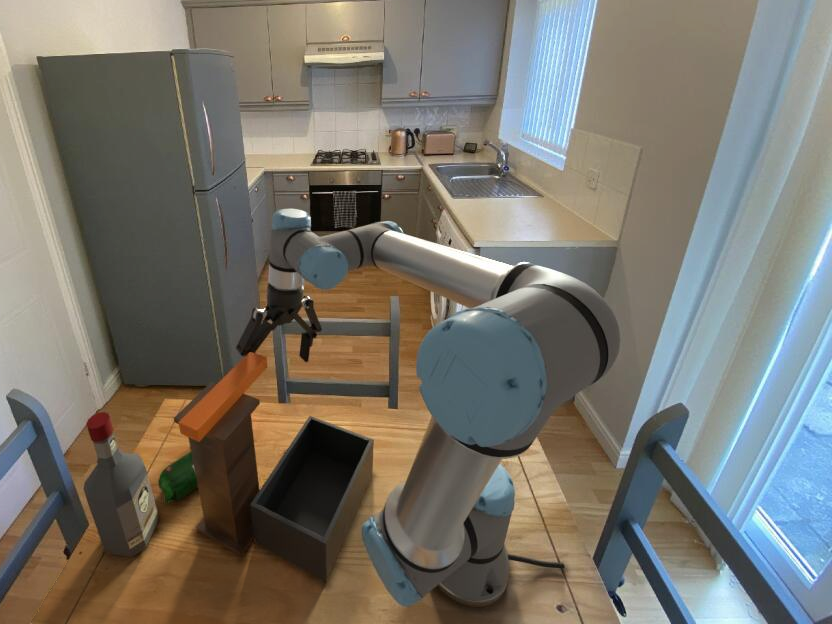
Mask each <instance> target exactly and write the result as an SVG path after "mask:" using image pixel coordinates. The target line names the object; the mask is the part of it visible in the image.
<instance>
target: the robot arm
mask: <svg viewBox="0 0 832 624" xmlns="http://www.w3.org/2000/svg"><path fill="white" fill-rule="evenodd" d="M311 218H312V217H311V215H310V214H309V213H308V212H307V211H305V210H302V209H298V208H281V209H278V210H276V211H274V213H273V214H272V222H271V228H270V243H269V259H268V260H269V261H268V274H267V275H268V278H267V281H268V282H267V286H266V306H265V308H258V307H253V308H252V310H251V314H250V319H249V320H248V323H247V325H246V326H245V328H244V330H243V333H242V335H241V336H240V338H239V340H238V343H237V344H236V346H235V349H236V351H237V352H238V354H239V355H240V356H241V357H243V358H244V357H245V356H246V355H247V354H248V353H249V352H252V353H255V354H257V353H256V352H257V351H258V349H259V348H260V346H261V345H262V344H263V343H264V341H265V340H266V339H267V337H268V336H269V335H270V334H271V332H272V331H275V330H276V329H277V327H281V326H283V325H285V324H290V323H292V322H293V321H295V322H296V323H297V324H298V325H299V326H300V327H301V328H302V329H303V330H304V331H302V332H301V337H300V346H299V355H298V356H299V358H300V359H302V361H303V362H305V363H309V360H310V353H311V352H310V350H311V348H312V347H313V344H314V339H316V338H317V337H318V334H317V333H321V332H322V330H323V328H322V325H321V323H320V320H319V318H318V315H317V313H316V310H315V308H314V303H315V301H314V300H313V298H311V297H310V296H308V294H305V295H304V289H305V286H304V285H305V283H306V282H308V283H310V284H311V285H312V286H314V287H315V288H316V289H319V290H323V291H327V290H332V289H334V288H336V287H338V286H337V285H339V284H340V283H342V282H343V281H344V280H345V279H346V278H347V277H346V276H347V274H348V273H349V272H352V271H355V270H358V269H361V268H365V267H370V266H372V267H374V268H377V269H379V270H382V271H384V272H386V273H387V274H391V275H392V276H396V277H397V278H400V279H402V280H405V281H407V282H409V283H411V284H414V285H416V286H418V287H421V288H423V289H424V290H426V291H430V292H431V293H434V294H436V295H438V296H441V297H442V298H444V299H447V300H448V301H452V302H453V303H454V302H455V303H456V304H458V305H460V306H462V307H465V308H464V309H461V310H459V311H456V312H455V313H453V314H452V315H449V316H448V317H446V318H445V319H444V320H442V321H440V322H439V323H437V324H436V325H435V326H433V327H432V328H430V330H429V331H428V332H427V333H426V334H425V335H424V337H423V339H422V341H421V342H420V345H419V347H418V350H417V354H416V361H415V370H416V371H415V373H416V377H417V378H419V379H420V381H421V384H419V385H418V389H419V392H420V395H421V399H422V401H423V402H424V404H425V406H426V408H427V410H428V412H429V413H430V415H431V417H430V419H429V422H428V424H427V427H426V429H425V432H424V434H423V437H422V440H421V442H420V445H419V447H418V450H417V451H416V455H415V457H414V460H413V462H412V465H411V467H410V470H409V472H408V475H407V478H406V480H405V481H401V482H400V483H398V484H397V485H396V487H394V488H393V489H392V490H391V492H390V493H389V495H388V496H387V499H386V502H385V504H384V507H383V509H382V510H380V512H378V513H377V514H375V515H374V516H373V515H372V516H370V517H369V518H368V520H366V521H365V522H363V524H362V526H361V538H362V541H363V545H364V547H365V551H366V553H367V556H368V558H369V559H370V562H371V564H372V566H373V568H374V570H375V573H376V574H377V576H378V577H379V579H380V581H381V583H382V585H383V586H384V587H385V589H386V590H387V592H388V593H389V595H390V596H391V597H392V599H393V600H394V601H395V602H396V603H397V604H398V605H400V606H402V607H404V608H409V607H411V606H412V605H414V604H416V603H417V602H421V601H422V600H423V598H424V597H426V596H427V594H429V593H430V592H432V590H434V589H435V588H436V587H437V588H438V589H439V590H440V591H441V592H442V593H443V594H444V595H445V596H446V597H448V598H449V599H451V600H453V601H455V602H457V603H459V604H460V605H464V606H468V607H473V608H482V607H483V608H484V607H487V606H491V605H492V604H494V603H496V602H497V601H498V600H500V599H501V598H502V596H503V595H504V593H505V592H506V589H507V586H508V582H509V579H510V571H511V569H510V561H513V562H515V561H516V562H519V563H524V564H529V565H533V566H537V567H543V568H551V569H565V563H564V562H555V561H545V560H538V559H533V558H530V557H525V556H520V555H515V554H511V553H508V552H507V549H506V545H505V542H506V538H507V534H508V529H509V526H510V522H511V518H512V515H513V511H514V510H515V504H516V502H515V497H516V491H515V489H516V488H515V485H514V481H513V479H512V477H511V476H510V474H509V472H508V471H507V470H506V468H505V467H504V466H503V465H502V464H501V462H502V460H506V459H507V460H508V459H513V458H516V457H519V456H521V455H523V454H524V453H525V452H526V451H528V450H529V449H530V448H531V446H532V445H533V443H534V442H535V440H536V439H537V437H538V436H539V434H540V433H541V431H542V430H543V428H544V427H545V425H546V424H547V422H548V421H549V420H550V419H551V417H552V415H553V414H554V413H555V412H556V411H557V409H558V408H560V407H561V406H562V405H563V404H565V403H567V401H569V400H571V399H572V398H573V397H575V396H576V395H578V394H579V393H581V392H582V391H584V390H585V389H587V388H588V387H590V386H592V385H593V384H595V383H597V382H598V381H599V380H601V379H602V378H603V377H605V375H607V374H608V373H609V371H610V370H611V368H612V367H613V366H614V364H615V363H616V360H617V357H618V355H619V352H620V347H621V333H620V326H619V323H618V320H617V317H616V315H615V313H614V310H613V309H612V307H611V306H610V305H609V304H608V301H606V299H605V298H604V297H603V296H601V294H599V293H598V292H597V291H596V289H594V288H592V287H591V286H589V284H587V283H586V282H584V281H581V280H580V279H578V278H576V277H573V276H571V275H569V274H566V273H565V272H564V273H563V272H560V271H558V270H555V269H551V268H548V267H544V266H541V265H538V264H534V263H531V262H525V261H523V262H519V263H516V264H515V265H509V264H506V263H504V262H499V261H496V260H493V259H489V258H486V257H483V256H479V255H476V254H473V253H469V252H466V251H463V250H460V249H456V248H453V247H450V246H446V245H443V244H439V243H436V242H432V241H429V240H427V239H422V238H419V237H416V236H414V235H413V236H412V235H409V234H406V233H404V231H403V229H402V228H401V227H400V226H398V224H397V223H396V222H394V221H391V220H386V221H375V222H373V223H370V224H366V225H362V226H358V227H354V228H351V229H347V230H343V231H338V232H335V233H331V234H326V235H322V236H319V235H318V234H316V233H314V232H313V231H312V230H311V228H312V224H311V223H312V220H311ZM302 308H303V309H304V311H305V314H306V316H307V319H308V320H309V321H308V322H309V323H310V325H309V324H308V323H307V322H306V320H304V318H302V316H301V315H299V312H300V311H301V309H302ZM270 321H271V322H270Z"/></svg>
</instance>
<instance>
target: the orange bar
mask: <svg viewBox="0 0 832 624" xmlns="http://www.w3.org/2000/svg"><path fill="white" fill-rule="evenodd" d="M255 353H256V352H255ZM255 353H252V352H249V353H248V354H247V355H246V356H245V357H244V356H243V358H242V359H241V360H240V361H239V362H238V363H237V364H236V365H235V366H234V367H233V368H232V369H231V370H230V371H228V373H227V374H226V375H225V376H224V377H223V378H221V380H219V382H218V383H217V385H216V386H215V387H214V388H213V389H212V390H211V391H210V392H209V393H208V394H207V395H206V396H205V397H204V398H203V399H202V400H201V401H200V402H199V403H198V404H196V405H195V406H194V407H193V408H192V409H191V410H190V411H189V412H188V413H187V414H186V415H185V416H184V417H183V418H182V419H181V420H180V421H179V422H178V423H179V424H178V426H179V427H178V428H179V433H180V434H181V435H183V436H185V437H187V438H188V437H189V438H191V439H193V440H196V441H198V442H200V441H201V440H202V438H203V437H204V436H205V435H206V434H207V433H208V432H209V431H210V430H211V429H212V427H213V426H214V425H215V424H216V423H217V422H218V421H219V420H220V419H221V418H222V416H223V415H224V414H225V413H226V412H227V411H228V410H229V409H230V408H231V407H232V406H233V404H234V403H235V402H236V401H237V400H238V399H239V398H240V397H241V396H242V395H243V393H244V394H245V393H246V392H247V390H248V389H249V388H250V387H251V386H252V385H253V384H254V383H255V382H256V381H257V379H258V378H259V377H260V376H261V375H262V374H263V373H264V372H265V371H266V369H267V368H268V358H267V356H264V355H261V354H258V353H256V354H255ZM189 438H188V439H189Z"/></svg>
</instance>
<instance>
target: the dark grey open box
mask: <svg viewBox="0 0 832 624" xmlns="http://www.w3.org/2000/svg"><path fill="white" fill-rule="evenodd" d="M374 442H375V440H374V439H373V438H370V437H368V436H365V435H362V434H360V433H357V432H355V431H352V430H349V429H347V428H343V427H341V426H339V425H335V424H333V423H330V422H328V421H325V420H323V419H320V418H318V417H315V416H312V415H309V416H308V417H307V419H306V421H305V422H304V424H303V425H302V427H301V428H300V429H299V431H298V433H297V434H296V435H295V436H294V438H293V440H292V441H291V443H290V444H289V446H288V447H287V449H286V450H285V452H284V453H283V455H282V456H281V458H279V461H278V462H277V464H276V465H275V467H274V469H273V470H272V471H271V473H270V474H269V475H268V477H267V479H266V481H265V482H264V483H263V485H262V486H261V488H259V492H258V494H257V495H256V497H255V498H254V500H253V501H252V503H251V504H250V509H251V517H252V525H253V533H254V538H253V540H254V544H256V545H258V546H259V547H261V548H263V549H265V550H267V551H268V552H270V553H272V554H274V555H275V556H277V557H279V558H281V559H283V560H285V561H287V562H288V563H290V564H292V565H293V566H295V567H297V568H299V569H301V570H303V571H304V572H306V573H307V574H309V575H311V576H313V577H315V578H316V579H319V580H320V581H322V582H324V583H328V581H329V579H330V577H331V575H332V573H333V569H334V567H335V565H336V563H337V560H338V558H339V555H340V553H341V551H342V549H343V546H344V545H345V541H346V539H347V536H348V535H349V532H350V529H351V527H352V525H353V523H354V520H355V517H356V515H357V514H358V510H359V508H360V505H361V504H362V501H363V498H364V497H365V494H366V492H367V489H368V487H369V485H370V482H371V479H372V478H373V468H374V446H375V445H374Z"/></svg>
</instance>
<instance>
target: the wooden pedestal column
mask: <svg viewBox="0 0 832 624" xmlns="http://www.w3.org/2000/svg"><path fill="white" fill-rule="evenodd" d="M217 384H218V383H217V382H214V381H210V383H208V384H207V385H206V386H205V387H204V388H203V389H202V390H201V391H200V392H199V393H198V394H197V395H196V396H195V397H194V398H193V399H192V400H191V401H190V402H189V403H188V404H187V405H186V406H184V408H182V409H181V410H180V411H179V412H178V413H177V414H176V415H175V416H174V417H173V422H174V423H175V424H177V425H179V423H178V422H179V421H180V420H181V419H182V418H183V417H184V416H185V415H186V414H187V413H188V412H189V411H190V410H191V409H192V408H193V407H194V406H195V405H196V404H198V403H199V402H200V401H201V400H202V399H203V398H204V397H205V396H206V395H207V394H208V393H209V392H210V391H211V390H212V389H213V388H214V387H215V386H216V385H217ZM260 401H261V399H259V398H256V397H255V396H252V395H248V394H246V393H245V392H244V393H243V395H242V396H241V397H240V398H239V399H238V400H237V401H236V402H235V403H234V404H233V406H232V407H231V408H230V409H229V410H228V411H227V412H226V413H225V414H224V415H223V416H222V418H221V419H220V420H219V421H218V422H217V423H216V424H215V425H214V426H213V427H212V429H211V430H210V431H209V432H208V433H207V434H206V435H205V436H204V437H203V438H202V440H201V441H200V442H198V441H196V440H193V439H191V438H189V437H187V438H188V443H189V448H190V452H191V454H192V459H193V464H194V469H195V474H196V479H197V484H198V487H197V489H198V494H199V500H200V504H201V509H202V514H203V515H202V516H203V518H202V519H201V520H200V522H199V523H198V524H197V526H196V527H195V528H196V531H197V532H198V533H199V534H201V535H203V536H205V537H206V538H208V539H210V540H211V541H213V542H215V543H216V544H218V545H220V546H222V547H224V548H225V549H227V550H229V551H230V552H232V553H234V554H235V555H237V556H239V557H241V558H243V556H244V555H245V553H246V551H247V550H248V548H249V547H250V545H251V543H252V541H253V540H254V533H253V525H252V517H251V509H250V504H251V503H252V501H253V500H254V498H255V497H256V495H257V494H258V492H259V491H260V483H259V475H258V473H259V472H258V466H257V456H256V447H255V438H254V431H253V430H254V429H253V420H252V414H253V413H254V411H255V410H256V409H257V408H258V407H259V406H260V405H261V403H260Z"/></svg>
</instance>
